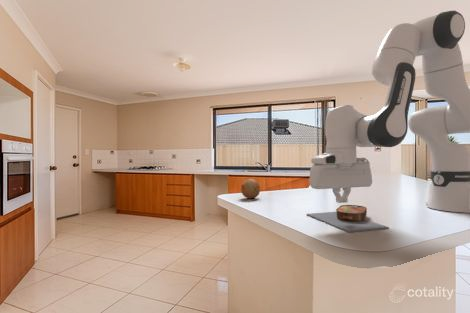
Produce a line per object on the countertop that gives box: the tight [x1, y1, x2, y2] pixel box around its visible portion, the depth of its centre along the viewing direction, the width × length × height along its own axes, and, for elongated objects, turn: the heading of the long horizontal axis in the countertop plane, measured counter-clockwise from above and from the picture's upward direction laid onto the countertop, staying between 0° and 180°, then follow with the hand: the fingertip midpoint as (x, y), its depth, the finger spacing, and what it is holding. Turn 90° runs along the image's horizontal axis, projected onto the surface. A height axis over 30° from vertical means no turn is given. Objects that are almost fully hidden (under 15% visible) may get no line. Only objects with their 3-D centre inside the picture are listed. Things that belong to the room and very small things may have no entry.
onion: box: [240, 178, 261, 199], centre depth 127 cm, size 10×10×10 cm
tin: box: [335, 204, 368, 221], centre depth 83 cm, size 15×3×8 cm
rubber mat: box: [306, 211, 390, 233], centre depth 79 cm, size 13×22×1 cm, turn 14°
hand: (341, 202), depth 78 cm, fingers closed
